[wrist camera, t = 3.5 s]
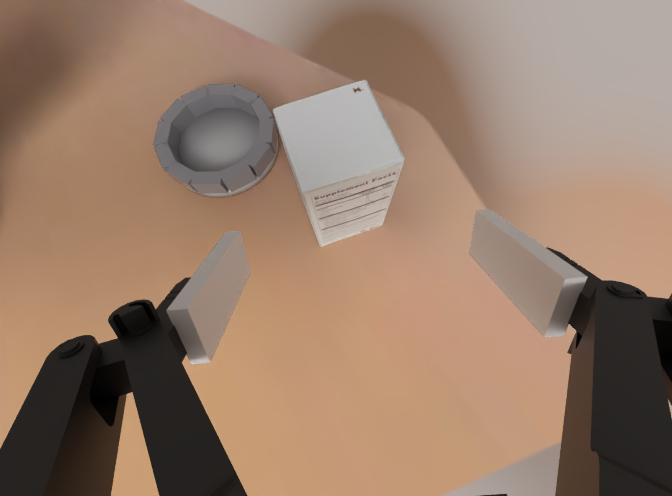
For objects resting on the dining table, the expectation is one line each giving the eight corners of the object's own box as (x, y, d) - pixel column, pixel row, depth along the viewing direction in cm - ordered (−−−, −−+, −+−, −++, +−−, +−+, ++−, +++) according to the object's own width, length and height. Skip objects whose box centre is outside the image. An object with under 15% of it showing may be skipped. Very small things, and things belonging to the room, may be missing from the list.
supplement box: (299, 190, 32) (269, 104, 20) (360, 170, 32) (368, 74, 20) (318, 249, 30) (299, 194, 18) (384, 227, 30) (409, 158, 18)
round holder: (149, 166, 34) (130, 151, 31) (215, 89, 37) (203, 68, 34) (236, 216, 31) (225, 205, 28) (299, 130, 34) (295, 111, 31)
